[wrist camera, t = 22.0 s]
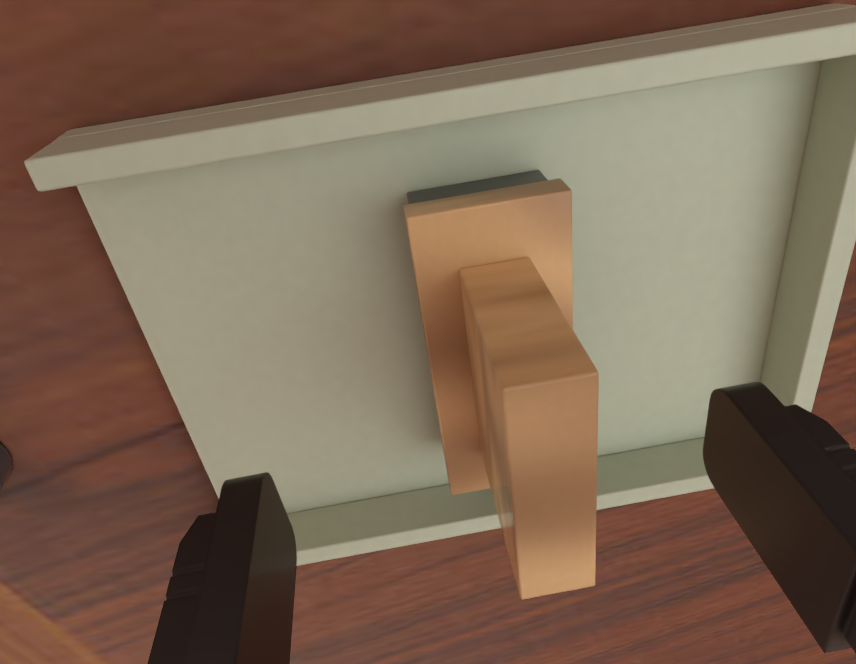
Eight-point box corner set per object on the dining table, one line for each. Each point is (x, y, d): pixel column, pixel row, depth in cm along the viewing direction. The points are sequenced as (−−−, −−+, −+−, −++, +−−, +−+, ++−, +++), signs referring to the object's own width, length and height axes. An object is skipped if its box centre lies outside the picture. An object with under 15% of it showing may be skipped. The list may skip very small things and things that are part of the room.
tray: (68, 129, 17) (20, 160, 15) (834, 2, 18) (916, 11, 15) (238, 517, 26) (227, 579, 23) (752, 423, 26) (795, 474, 24)
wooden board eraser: (554, 426, 24) (638, 616, 17) (441, 447, 24) (481, 646, 17) (546, 160, 18) (664, 287, 12) (398, 186, 18) (431, 328, 11)
